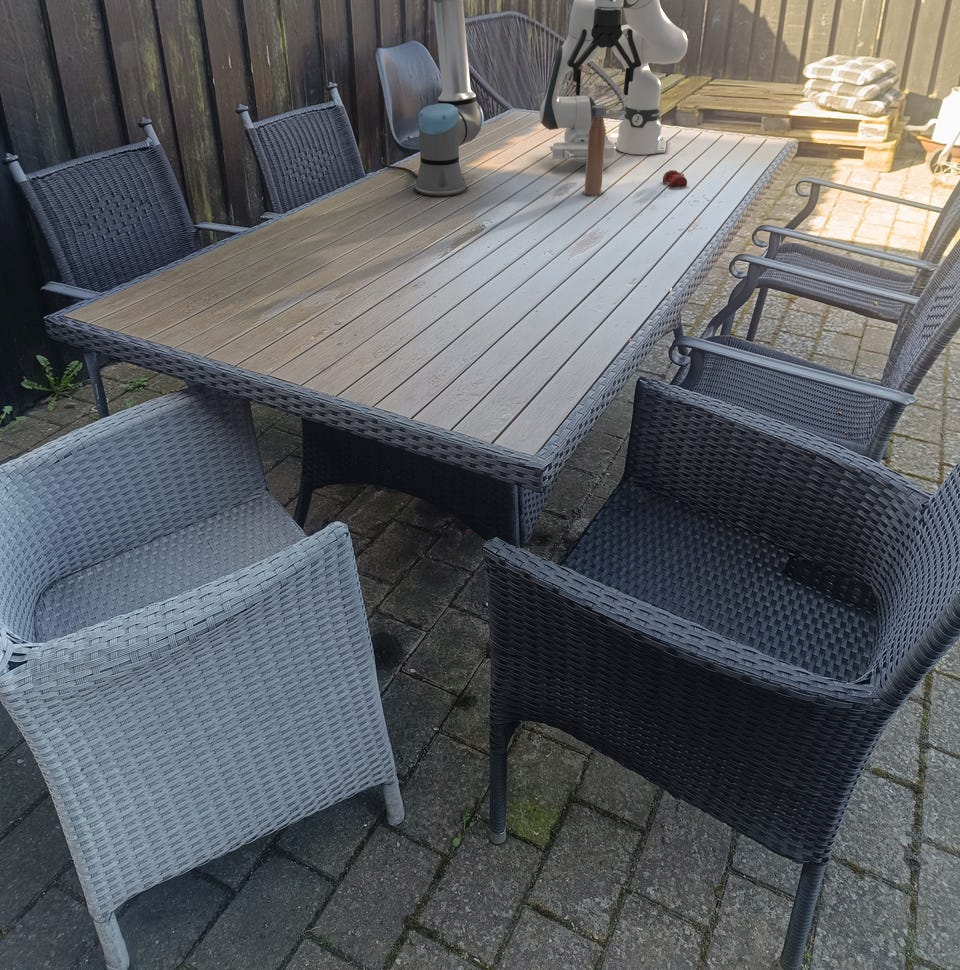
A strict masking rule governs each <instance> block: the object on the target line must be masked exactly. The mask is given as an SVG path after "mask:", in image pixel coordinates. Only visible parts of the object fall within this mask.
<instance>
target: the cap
mask: <svg viewBox="0 0 960 970" xmlns="http://www.w3.org/2000/svg"><path fill="white" fill-rule="evenodd" d="M592 116H594V117H603V118H604V117H606V116H607V106H606V105H603V104H596V105H595V106H592Z"/></svg>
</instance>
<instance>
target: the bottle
mask: <svg viewBox="0 0 960 970" xmlns="http://www.w3.org/2000/svg"><path fill="white" fill-rule="evenodd" d="M605 124H606V123H605V119H604V117H594V118H593V120H592V123H591V126H590V129H589V133H588V147H587V160H585V161H586V163H585V177H584V191H583V193H584V194H585V195H586V196H592V197H594V196H595V197H597V196H601V195H602V188H603V176H604V163H605V159H604V153H605V141H606V136H607V129H606V125H605Z"/></svg>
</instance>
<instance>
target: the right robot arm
mask: <svg viewBox="0 0 960 970" xmlns="http://www.w3.org/2000/svg"><path fill="white" fill-rule="evenodd" d="M572 2H573V3H572V5H571V11H570V16H569V22H568V30H567V31H568V32H567V37H566V39H565V41H564V43H563V44H562V45H561V46H560V47H558V48H557V49H556V51H555V54H554V56H553V60H552V64H551V67H550V72H549V75H548V80H547V84H546V89H545V92H544V96H543V98H542V102H541V105H540V108H539V120H540V124H541V125H542V126H543V127H544V128H545V129H547V130H548V131H554V130H559V129H565V130H564V135H563V136H564V137H563V138H564V139H563V140H564V141H563V142H555V143H552V145H550V146H549V150H550V151H551V152H552V153H551V154H552V159H554V160H568V161H576V162H584V161H587V147H588V133H589V129H590V126H591V123H592V120H593V118H594V116H592V106H595V105H597V104H596V101H594V99H593V98H592V97H591V96H590V95H580V96H577V95H573V96H559V94H560V90H561V88H562V87H561V86H562V83H563V79H564V77H565V75H566V74H567V73H569V72H570V71H573V68H572V67H569V66H568V65H567V62H568V60H569V58H570V56H571V54H572V52H573V50H574V48H575V46H576V44H577V42H578V40H579V38H580V34H581V29H582V28H585V29H588V30H592V28H593V22H594V10H595V9H597V7H596V6H595V0H573V1H572ZM621 9H622V11H623V15H624V20H625V22H626V24H623V25H622V24H621V28H622V30H625V29H628V28H630V29H632V31H633V41H634V44H635V47H636V50H637V52H638V55H639V58H640V61H641V66H640V67H636V68H635V69H634V74H633V81H632V82H629V88H628V95H626V105H625V107H624V110H623V111H624V112H623V114H624V115H623V117H624V119H622V121H621V122H619V124H618V131H617V133H611V134H610V138H616V142H615V143H614V142H613V141H612V140H610V139H609V136H608V135H606V141H605V153H604V160H613V159H615V158H616V150H618V151H619V152H621V153H624V154H630V155H643V156H644V155H654V154H664V153H666V148H667V146H666V145H667V140H666V139H665V138H664V139H663V136H662V127H663V126H662V124H661V121H660V116H661V105H660V103H661V94H662V93H661V92H662V82H661V81H660V79H659V78H658V76H657V75H656V74H654V73H653V72H652V71H651V69H650V66H649V64H658V65H669V64H670V65H671V64H677V63H680V61H682V60H683V58H684V57H685V55H686V54H687V51H688V47H689V40H688V37H687V34H686V32H685V31H684V30H683V29H682V28H680V27H678V26H677V25H675V24H674V23H673V22H672V21H671V20H670V18H669V17H668V16H667V15H666V13H665V12H664V10H663V9H662V5H661V2H660V0H624V1H623V7H621ZM593 40H594V39H593V37H592V35H589V36H588V38H586V39H585V42H584V44H583V46H582V48H581V50H580V51H579V53H578V55H577V57H576V59H575V61H574V63H575V62H576V61H577V60H578V59H579V57H580V56H581V55H582V54H583V52H584V51H585V50H586V49H587V48H588V46H589V45H590V43H591V42H592V41H593ZM618 41H619V43H620V44H621V46H622V48H623V49H624V51H625V52H626V54H627V55H628V57H629V58H630V60H631V61H632V63H633V62H635V61H634V58H633V55H632V52H631V50H630V47H629V44H628V41H627V38H625V37H624V35H623V34H622V36H621V37H620V39H619V40H618ZM602 49H603V48H600V47H599V46H597V47H596V49H594V50H593V52H592V53H591V54H590V55H589V56H588V58H587V59H586V60H585V61H584V62H583V64H582V65H581V66H584V65H587V64H588V63H590V62H592V61H593V60H595V59H596V58H597V57H598V55H599V54H600V53H601V51H602ZM611 49H612V52H613V54H614V55H615V57H616V58H617V59H618V60H619V62H620V63H621V65H622V66H623V69H624V72H625V71H626V68H629V66H628V65H627V63H626V62H625V60H624V59H623V57H622V56H621V54H620V53H619V51H618V50H617V48H616V47H615V45H614V46H613V47H612V48H611Z"/></svg>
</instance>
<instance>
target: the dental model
mask: <svg viewBox="0 0 960 970" xmlns="http://www.w3.org/2000/svg"><path fill="white" fill-rule="evenodd" d="M662 183H663V184H665V183H669V184H668V187H669V188H682V187H687V186H688V179H687V178H686V176H685V174H684V173H682V172H678V170H675V169H673V170H672V169H670V170H667V171H666V172H665V173H664V174H663V177H662Z"/></svg>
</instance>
